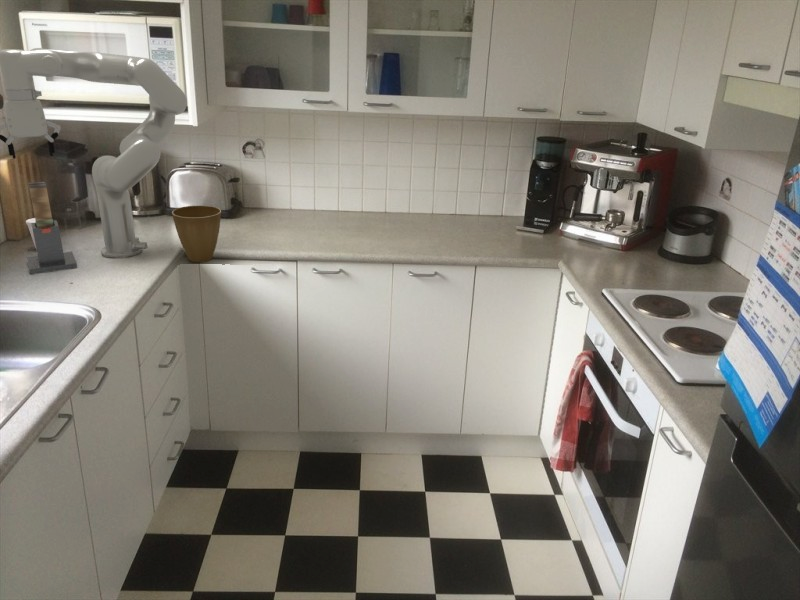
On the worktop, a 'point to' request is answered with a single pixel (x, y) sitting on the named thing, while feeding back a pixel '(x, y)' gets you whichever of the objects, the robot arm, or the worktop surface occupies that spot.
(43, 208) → the column
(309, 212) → the worktop surface
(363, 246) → the worktop surface
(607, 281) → the worktop surface
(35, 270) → the stand
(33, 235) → the smoothie
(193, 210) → the plant pot
